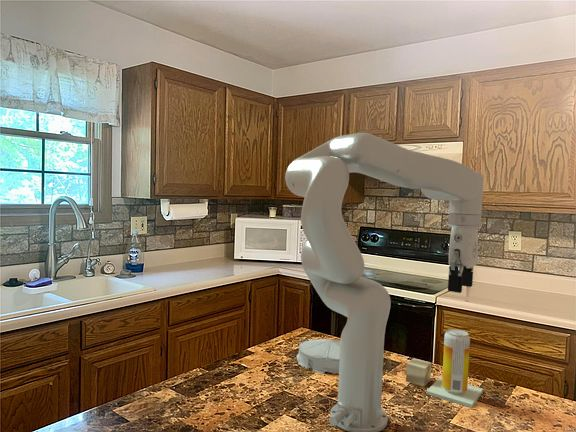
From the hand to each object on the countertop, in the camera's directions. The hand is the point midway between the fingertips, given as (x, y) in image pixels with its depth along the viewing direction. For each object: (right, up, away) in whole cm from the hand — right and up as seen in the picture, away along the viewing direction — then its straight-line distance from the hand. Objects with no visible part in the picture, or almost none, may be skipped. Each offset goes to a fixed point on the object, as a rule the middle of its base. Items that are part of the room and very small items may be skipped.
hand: (460, 288), depth 111 cm
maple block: (-8, -27, +8) cm, 29 cm away
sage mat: (-1, -27, +2) cm, 27 cm away
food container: (-31, -25, +21) cm, 45 cm away
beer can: (-1, -26, +2) cm, 27 cm away
